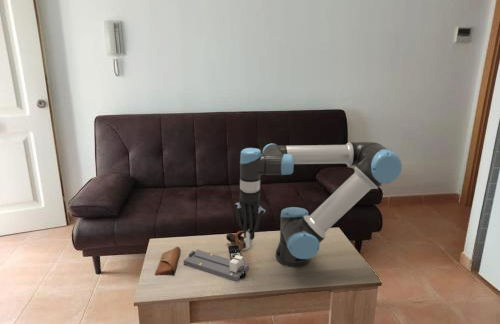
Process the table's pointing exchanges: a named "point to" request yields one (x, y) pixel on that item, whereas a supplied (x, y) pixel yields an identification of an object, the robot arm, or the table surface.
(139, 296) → the table surface
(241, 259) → the fader
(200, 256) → the grey slotted slider track
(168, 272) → the sunglasses case
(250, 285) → the table surface
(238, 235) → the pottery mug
